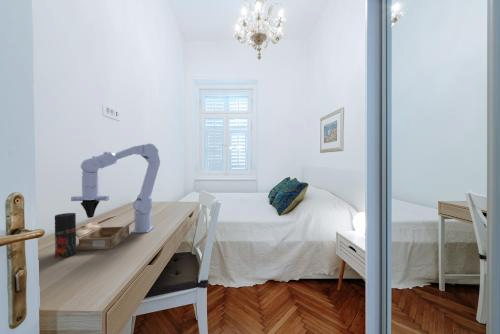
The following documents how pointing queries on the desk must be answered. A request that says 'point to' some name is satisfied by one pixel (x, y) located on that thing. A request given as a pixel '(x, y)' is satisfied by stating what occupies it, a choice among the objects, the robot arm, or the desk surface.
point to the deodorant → (65, 235)
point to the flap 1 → (87, 229)
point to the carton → (103, 238)
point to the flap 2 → (123, 228)
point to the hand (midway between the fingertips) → (90, 217)
